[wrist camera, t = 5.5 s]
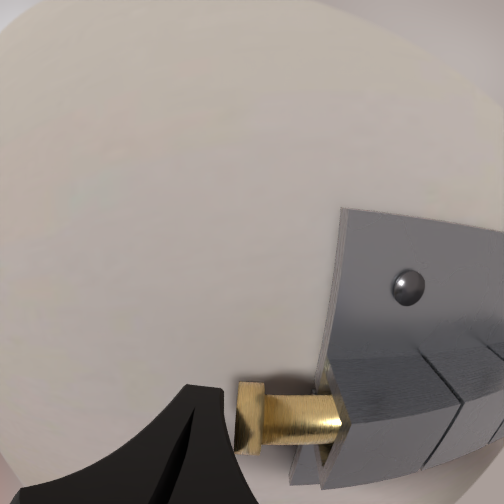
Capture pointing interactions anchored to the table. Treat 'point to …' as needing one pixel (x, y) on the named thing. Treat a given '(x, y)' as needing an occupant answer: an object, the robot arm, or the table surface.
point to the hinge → (408, 348)
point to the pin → (282, 419)
